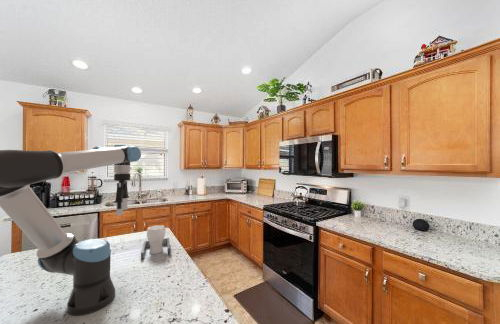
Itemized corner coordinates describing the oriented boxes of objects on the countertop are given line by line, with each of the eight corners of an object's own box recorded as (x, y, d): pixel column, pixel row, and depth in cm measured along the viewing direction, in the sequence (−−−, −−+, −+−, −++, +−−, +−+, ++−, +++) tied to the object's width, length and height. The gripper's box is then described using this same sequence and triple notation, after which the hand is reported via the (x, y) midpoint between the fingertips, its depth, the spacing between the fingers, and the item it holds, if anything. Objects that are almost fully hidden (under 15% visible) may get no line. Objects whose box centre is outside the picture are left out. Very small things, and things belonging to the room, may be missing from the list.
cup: (168, 248, 133) (168, 225, 133) (159, 255, 123) (159, 230, 123) (153, 247, 134) (153, 224, 134) (143, 254, 124) (143, 229, 124)
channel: (169, 255, 123) (169, 248, 123) (140, 259, 117) (140, 252, 117) (169, 243, 141) (169, 237, 141) (144, 247, 135) (144, 241, 135)
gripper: (126, 173, 102) (126, 216, 101) (133, 172, 125) (133, 207, 124) (108, 174, 99) (108, 218, 98) (119, 172, 122) (119, 208, 121)
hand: (122, 212), depth 111 cm, fingers open, 13 cm apart
